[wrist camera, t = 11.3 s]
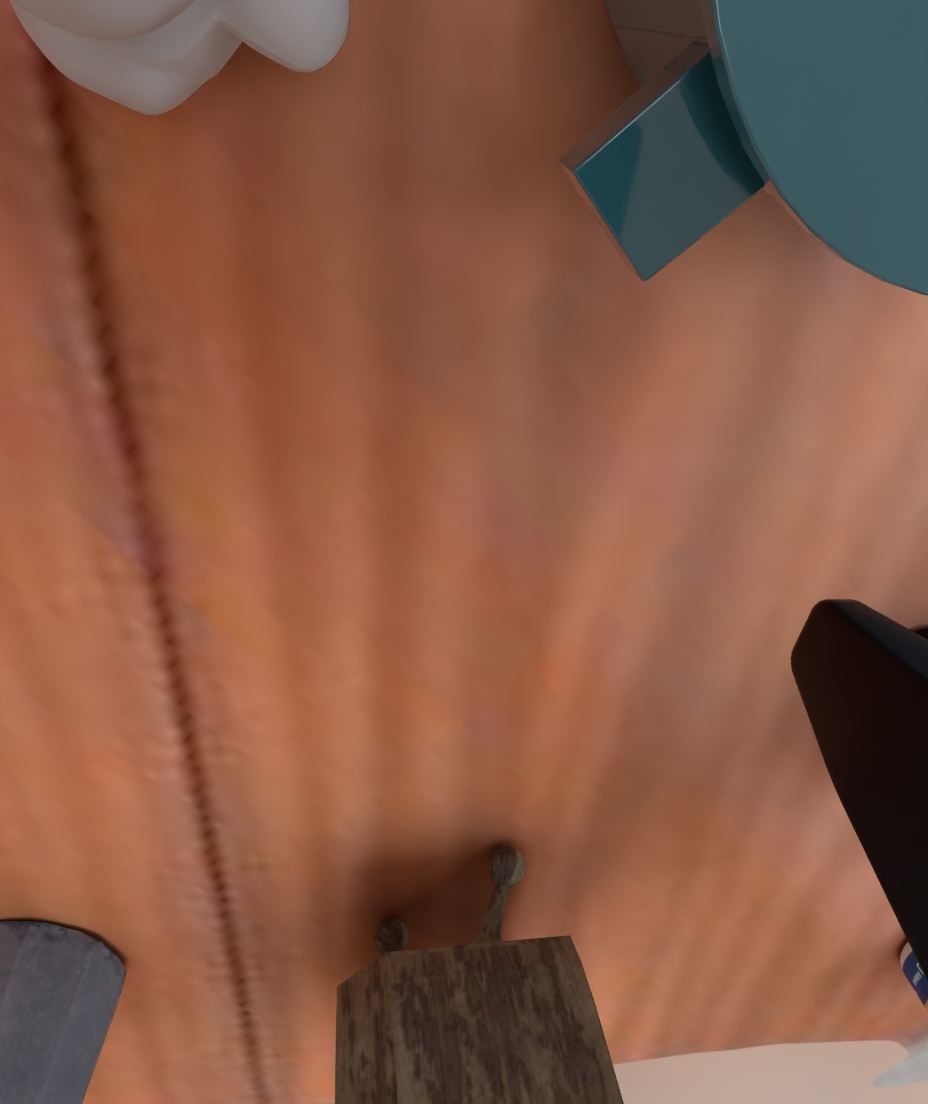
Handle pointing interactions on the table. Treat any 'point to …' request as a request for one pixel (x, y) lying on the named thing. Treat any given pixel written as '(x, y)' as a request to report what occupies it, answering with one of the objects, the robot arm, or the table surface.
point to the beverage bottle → (914, 974)
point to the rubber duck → (176, 41)
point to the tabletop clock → (472, 1019)
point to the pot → (663, 141)
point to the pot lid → (835, 120)
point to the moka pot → (53, 1010)
